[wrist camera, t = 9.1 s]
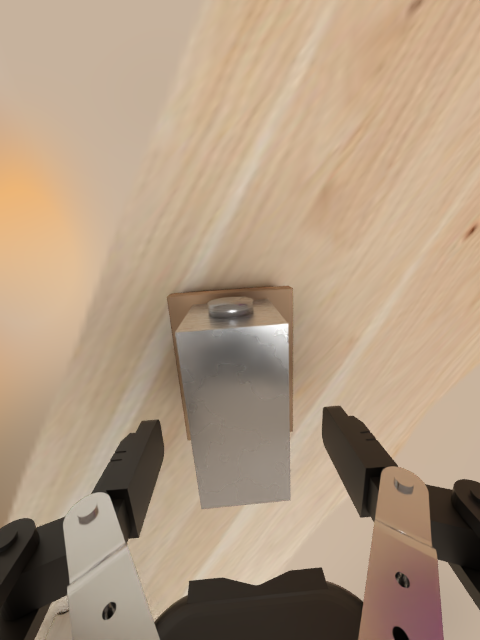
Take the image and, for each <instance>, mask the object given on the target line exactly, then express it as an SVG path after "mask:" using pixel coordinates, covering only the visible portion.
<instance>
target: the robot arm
mask: <svg viewBox="0 0 480 640" xmlns="http://www.w3.org/2000/svg"><path fill="white" fill-rule="evenodd" d="M322 438H323V443H324V446H325V448H326V450H327V452H328V454H329V456H330V458H331V460H332V462H333V464H334V466H335V468H336V470H337V472H338V474H339V476H340V478H341V480H342V482H343V484H344V486H345V488H346V490H347V492H348V494H349V496H350V498H351V500H352V501H353V504H354V506H355V508H356V509H357V511H358V513H359V515H360V517H371V518H372V520H373V521H374V529H373V536H372V544H371V551H370V558H369V565H368V573H367V580H366V587H365V594H364V601H361V600H360V599H359V598H358V597H357V596H355V595H354V594H352V593H351V592H350V591H348V590H346V589H344V588H343V587H341V586H339V585H336V584H334V583H331V582H328V581H326V580H325V577H324V573H323V570H322V568H311V569H303V570H292V571H288V572H286V573H284V574H282V575H280V576H278V577H275V578H273V579H271V580H269V581H267V582H265V583H263V584H261V585H251V584H246V583H242V582H238V581H234V580H230V579H226V578H214V579H204V580H194V581H189V589H188V595H187V596H185V597H183V598H181V599H180V600H178V601H177V602H175V603H174V604H172V605H171V606H170V607H169V608H168V609H166V610H165V611H164V612H163V613H162V614H161V615H160V616H159V617H158V619H157V620H156V621H155V622H154V621H153V618H152V615H151V612H150V609H149V606H148V603H147V600H146V597H145V595H144V592H143V589H142V586H141V583H140V580H139V577H138V574H137V571H136V568H135V565H134V562H133V559H132V557H131V554H130V551H129V548H128V545H127V541H128V539H130V538H139V535H140V532H141V529H142V526H143V522H144V519H145V516H146V513H147V510H148V506H149V503H150V500H151V497H152V494H153V490H154V487H155V484H156V481H157V478H158V474H159V471H160V468H161V465H162V462H163V457H164V443H163V437H162V431H161V425H160V421H159V420H147V421H142V422H141V423H140V425H139V427H138V429H137V431H136V433H130V434H129V435H128V436H127V437H125V438H124V439H123V440H122V441H121V442H120V444H119V446H118V448H117V449H116V451H115V454H114V455H113V456H112V458H111V461H110V462H109V463H108V465H107V467H106V469H105V470H104V472H103V474H102V476H101V478H100V479H99V481H98V483H97V485H96V486H95V488H94V490H93V492H92V493H91V494H90V495H88V496H86V497H84V498H83V499H81V500H80V501H78V502H77V503H76V504H75V505H74V506H73V507H72V508H71V509H70V510H69V512H68V513H67V515H66V516H65V517H63V518H61V519H58V520H55V521H53V522H50V523H48V524H45V525H42V526H40V527H37V528H36V525H35V523H34V521H33V520H32V519H28V518H23V519H19V520H16V521H13V522H11V523H9V524H7V525H5V526H4V527H2V528H1V529H0V640H34V639H35V637H36V635H37V633H38V630H39V628H40V626H41V624H42V622H43V620H44V617H45V615H46V613H47V611H48V609H49V607H50V604H51V602H53V601H55V600H58V599H60V598H62V597H64V596H66V595H67V596H68V606H69V611H68V612H67V613H65V614H62V615H56V616H55V618H54V620H53V622H52V625H51V627H50V629H49V631H48V633H47V635H46V637H45V639H44V640H444V637H443V625H442V612H441V599H440V586H439V574H438V561H437V559H438V560H443V561H446V562H448V563H449V565H450V566H451V568H452V569H453V571H454V572H455V574H456V575H457V577H458V578H459V580H460V581H461V583H462V584H463V586H464V587H465V589H466V590H467V592H468V593H469V595H470V596H471V598H472V599H473V601H474V602H475V604H476V605H477V607H478V608H479V610H480V483H478V482H476V481H472V480H465V479H462V480H458V481H456V482H455V484H454V487H453V490H450V489H445V488H440V487H435V486H430V485H426V484H425V483H424V482H423V481H422V480H421V479H420V478H419V477H418V476H416V475H415V474H414V473H412V472H410V471H408V470H406V469H404V468H401V467H398V465H397V464H396V463H395V462H394V460H393V459H392V458H391V457H390V455H389V454H388V453H387V452H386V451H385V449H384V448H383V447H382V446H381V444H380V443H379V442H378V441H377V440H376V438H375V437H374V436H373V434H372V433H370V431H369V429H368V428H367V427H366V426H365V424H364V423H363V422H361V421H360V420H358V419H357V418H356V417H354V416H348V415H347V414H346V413H345V411H344V410H343V409H342V407H341V406H330V407H324V408H323V420H322Z"/></svg>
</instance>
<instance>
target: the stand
mask: <svg viewBox="0 0 480 640" xmlns="http://www.w3.org/2000/svg"><path fill="white" fill-rule="evenodd" d="M225 297H249V298H252V299H253V300H260V299H268V300H269V301H270V302H271V303H272V305H273V306H274V307H275V308H276V309H277V311H278V312H279V313H280V314H281V315H282V317H283V318H284V319H285V320H286V321H287V323H288V339H289V421H290V432H292V431H293V288H291V287H289V286H279V287H258V288H243V289H227V290H212V291H197V292H187V293H174V294H170V295H169V296H168V297H167V301H168V308H169V315H170V322H171V329H172V335H173V342H174V349H175V356H176V363H177V370H178V377H179V384H180V390H181V397H182V404H183V411H184V418H185V425H186V432H187V439H188V440H191V436H190V429H189V423H188V416H187V409H186V403H185V396H184V390H183V383H182V376H181V370H180V363H179V356H178V350H177V343H176V337H175V332H176V330H177V329H178V327H179V326H180V324H181V322H182V321H183V319H184V318H185V316H186V315H187V313H188V312H189V310H190V309H191V307H192V305H194V304H207V303H208V302H209V301H211V300H214V299H218V298H225Z"/></svg>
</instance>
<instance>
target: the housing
mask: <svg viewBox="0 0 480 640" xmlns="http://www.w3.org/2000/svg"><path fill="white" fill-rule="evenodd" d="M175 337H176V343H177V350H178V356H179V363H180V370H181V376H182V383H183V390H184V396H185V403H186V409H187V416H188V423H189V429H190V436H191V443H192V449H193V456H194V463H195V469H196V476H197V482H198V489H199V496H200V502H201V509H208V508H218V507H228V506H238V505H248V504H258V503H268V502H278V501H288V500H290V421H289V339H288V323H287V321H286V320H285V319H284V318H283V317H282V315H281V314H280V313H279V312H278V311H277V309H276V308H275V307H274V306H273V305H272V303H271V302H270V301H269V300H268V299H260V300H253V299H252V298H249V297H225V298H218V299H214V300H211V301H209V302H208V303H207V304H194V305H192V307H191V309H190V310H189V312H188V313H187V315H186V316H185V318H184V319H183V321H182V322H181V324H180V326H179V327H178V329H177V330H176V332H175Z"/></svg>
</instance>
